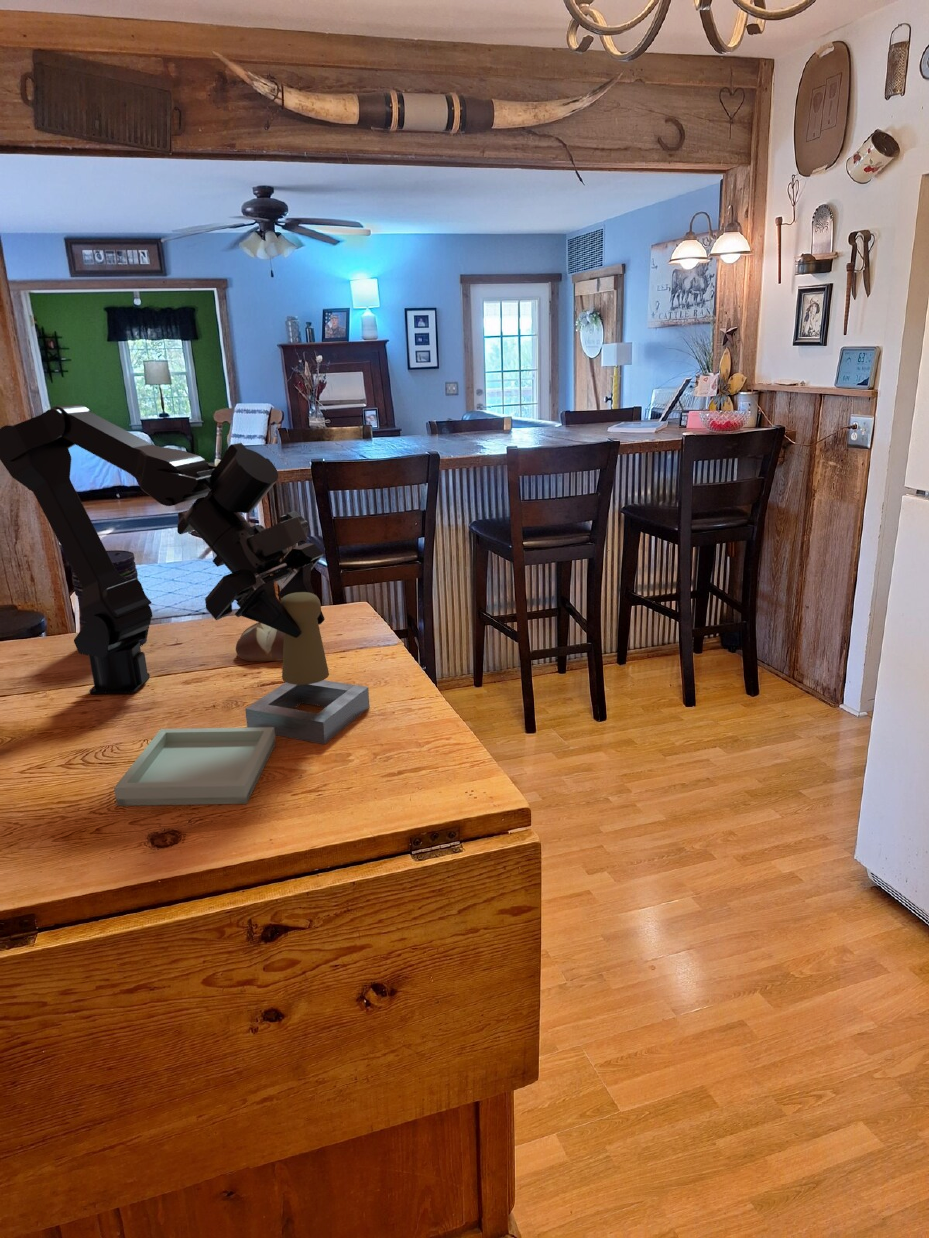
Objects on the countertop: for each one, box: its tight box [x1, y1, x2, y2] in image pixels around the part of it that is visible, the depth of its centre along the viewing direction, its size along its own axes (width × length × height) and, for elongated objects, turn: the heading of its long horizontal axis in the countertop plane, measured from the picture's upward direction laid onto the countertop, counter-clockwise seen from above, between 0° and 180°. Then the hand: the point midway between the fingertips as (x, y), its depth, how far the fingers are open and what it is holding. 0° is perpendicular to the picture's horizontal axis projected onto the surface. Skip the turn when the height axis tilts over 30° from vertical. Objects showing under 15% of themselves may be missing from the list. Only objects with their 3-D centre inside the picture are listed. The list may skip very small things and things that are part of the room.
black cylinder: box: [69, 549, 148, 647], centre depth 133 cm, size 10×10×15 cm
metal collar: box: [244, 679, 370, 745], centre depth 107 cm, size 12×12×3 cm
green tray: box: [113, 727, 277, 807], centre depth 94 cm, size 14×14×2 cm
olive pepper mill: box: [279, 592, 330, 685], centre depth 103 cm, size 6×6×11 cm
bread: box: [235, 622, 284, 662], centre depth 131 cm, size 11×11×5 cm
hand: (311, 628), depth 103 cm, fingers closed on olive pepper mill, 5 cm apart
